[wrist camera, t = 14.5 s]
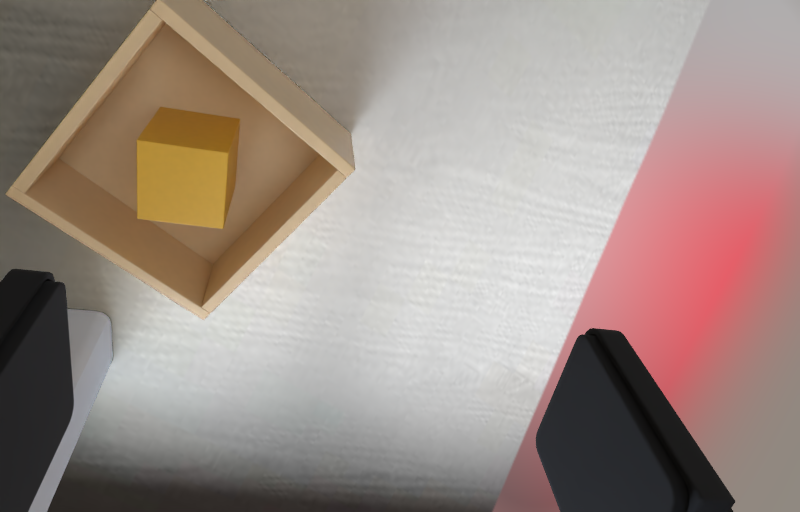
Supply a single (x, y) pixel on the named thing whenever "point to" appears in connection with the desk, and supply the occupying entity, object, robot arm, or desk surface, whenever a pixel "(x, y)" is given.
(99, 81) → the sand bin
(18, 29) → the desk surface
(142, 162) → the mustard box
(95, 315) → the white triangular prism tub
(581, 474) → the robot arm
